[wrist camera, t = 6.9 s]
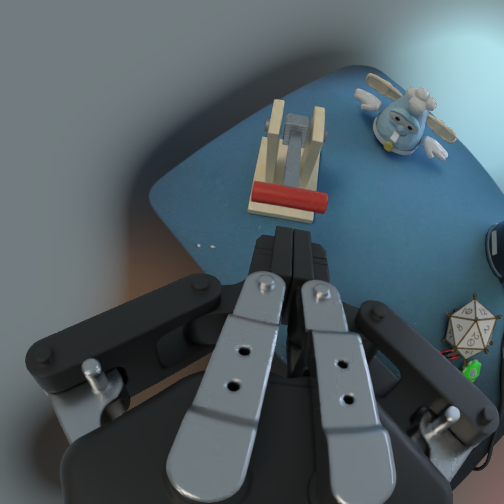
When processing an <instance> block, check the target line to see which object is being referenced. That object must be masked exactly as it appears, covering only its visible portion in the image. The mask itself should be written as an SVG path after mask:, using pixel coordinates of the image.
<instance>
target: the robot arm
mask: <svg viewBox="0 0 504 504" xmlns="http://www.w3.org/2000/svg"><path fill="white" fill-rule="evenodd" d="M486 254H487V258H488V262H489V264H490V267H491V269H492V270H493V272H494V273H495V275H496V276H497V277H499V279H500V282H501V283H504V221H503V222H501V223H499V224H496V225H494V226H492V227H491V228H490V229H489V231H488V233H487V237H486ZM327 265H328V264H327V257H326V251H325V250H324V249H323V248H322V246H321V245H320V244H315V243H311V234H310V231H304V230H298V229H294V230H293V228H287V227H281V226H276V231H275V237H274V236H268V235H262V236H261V237H259V238H258V239H257V241H256V245H255V249H254V253H253V257H252V261H251V265H250V270H249V274H248V276H247V278H246V279H245V280H244V281H242V282H240V283H237V284H234V285H221V283H220V281H219V280H218V279H217V278H215V277H213V276H211V275H208V274H192V275H189V276H187V277H184V278H182V279H180V280H178V281H175V282H173V283H171V284H168V285H166V286H164V287H161V288H159V289H157V290H154V291H152V292H150V293H147V294H145V295H143V296H140V297H138V298H136V299H133V300H131V301H129V302H126V303H124V304H122V305H119V306H117V307H115V308H113V309H110V310H108V311H106V312H103V313H101V314H99V315H96V316H94V317H92V318H89V319H87V320H85V321H82V322H80V323H78V324H76V325H73V326H71V327H69V328H67V329H64V330H62V331H59V332H58V333H55V334H53V335H50V336H48V337H46V338H43V339H41V340H39V341H37V342H36V343H34V344H33V345H32V346H31V347H30V348H29V350H28V352H27V354H26V359H25V362H26V367H27V369H28V370H29V372H30V373H31V375H32V376H33V377H34V379H35V380H36V381H37V383H38V384H39V385H40V387H41V388H42V389H43V390H44V391H45V393H46V394H47V395H48V396H49V398H50V401H51V403H52V406H53V408H54V410H55V413H56V415H57V418H58V420H59V422H60V424H61V427H62V429H63V431H64V433H65V435H66V437H67V439H68V441H69V443H70V446H69V447H68V448H67V450H66V452H65V454H64V455H63V458H62V461H61V466H60V479H61V485H62V491H63V499H64V504H453V494H452V489H451V486H450V484H449V482H450V481H451V480H452V478H453V477H454V476H455V474H456V473H457V471H458V470H459V468H460V467H461V465H462V464H463V463H464V461H465V459H466V458H467V456H468V455H469V453H470V452H471V450H472V449H473V448H474V447H476V446H477V445H478V444H479V443H480V442H481V441H483V440H484V439H486V438H487V437H488V436H490V435H491V434H492V433H493V436H492V439H491V443H490V446H489V451H488V456H487V459H486V462H485V463H484V464H483V465H482V466H480V467H475V468H474V469H473V471H480V470H482V469H484V468H485V467H486V466H487V464H488V463H489V461H490V458H491V455H492V450H493V445H494V442H495V439H496V436H497V433H498V430H499V426H500V423H501V419H502V415H503V410H504V357H503V356H504V354H503V351H502V353H501V403H500V410H499V413H498V410H497V408H496V407H495V405H494V404H493V403H492V402H491V401H490V400H489V399H488V398H487V397H486V396H485V395H484V394H483V393H482V392H481V391H480V390H479V389H478V388H477V387H476V386H475V385H474V384H473V383H472V382H471V381H470V380H469V379H468V378H467V377H466V376H465V375H463V374H462V373H461V372H460V371H459V370H458V369H457V368H456V367H455V366H454V365H453V364H452V363H451V362H450V361H449V360H448V359H446V358H445V357H444V356H443V355H442V354H441V353H440V352H439V351H438V350H437V349H436V348H434V347H433V346H432V345H431V344H430V343H429V342H428V341H427V340H426V339H425V338H423V337H422V336H421V335H420V334H419V333H418V332H417V331H416V330H414V329H413V328H412V327H411V326H410V325H409V324H408V323H407V322H405V321H404V320H403V319H402V318H401V317H400V316H398V315H397V314H396V313H395V312H394V311H393V310H392V309H390V308H389V307H388V306H387V305H385V304H383V303H381V302H378V301H366V302H364V303H362V305H361V306H360V309H359V308H356V307H354V306H351V305H348V304H346V303H344V302H342V301H341V297H340V294H339V291H338V290H337V289H336V288H335V287H334V286H333V285H331V284H330V277H329V270H328V266H327ZM281 316H282V321H281V324H284V325H288V330H287V333H288V336H287V340H286V350H287V378H285V377H282V376H279V375H277V374H274V373H271V372H270V368H271V363H272V358H273V354H274V349H275V344H276V339H277V334H278V329H279V324H280V320H281ZM503 343H504V336H503ZM503 348H504V346H503ZM378 349H379V350H380V351H381V352H382V353H383V354H384V355H385V356H386V357H387V358H388V359H389V360H390V361H391V362H392V363H393V364H395V365H396V366H397V367H398V369H399V370H400V373H401V378H400V379H399V378H397V377H396V376H395V375H394V374H393V373H392V372H391V371H390V370H389V369H388V368H387V367H386V366H385V365H384V364H383V363H382V362H381V361H380V360H379V359H378V358H377V357H376V356H375V354H376V352H377V351H378ZM213 350H214V351H213ZM212 351H213V354H212V356H211V359H210V361H209V364H208V367H207V369H206V370H205V371H200V372H197V373H194V374H191V375H188V376H186V377H184V378H182V379H180V380H179V381H177V382H176V383H174V384H172V385H171V386H169V387H168V388H166V389H164V390H163V391H161V392H159V393H158V394H156V395H155V396H153V397H151V398H149V399H148V400H146V401H144V402H143V403H141V404H139V405H138V406H136V407H134V408H132V409H131V410H129V411H127V409H128V408H129V405H130V397H132V396H134V395H136V394H138V393H140V392H142V391H143V390H145V389H147V388H149V387H151V386H153V385H155V384H156V383H158V382H160V381H162V380H164V379H165V378H167V377H169V376H171V375H173V374H174V373H176V372H178V371H180V370H181V369H183V368H185V367H186V366H188V365H190V364H192V363H193V362H195V361H197V360H199V359H200V358H202V357H204V356H205V355H207V354H209V353H210V352H212ZM126 411H127V412H126Z"/></svg>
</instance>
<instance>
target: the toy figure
mask: <svg viewBox="0 0 504 504" xmlns="http://www.w3.org/2000/svg"><path fill="white" fill-rule="evenodd" d="M366 83H367V84H368V85H370V86H371V87H372V88H374V89H375V90H377V91H378V92H379V93H380V94H381V95H383V96H387V97H389V98H391V99H393V100H395V101H394V102H393V103H391V104H390V105H388V106H387V107H386V108H384V109H383V110H381V111H380V112H379V114H380V115H379V114H378V115H379V117H378V115H377V117H378V119H377V117H376V118H375V120H374V123H373V131H374V134H375V135H376V137H377V139H378V140H379V141H380V142H381V143H382V144H383V145H384V149H385V150H387V151H389V152H391V151H393V152H395V153H397V154H400V155H410V154H412V153H413V152H414V151H415V150H416V149H417V147H418V146H419V145H420V143H421V140H422V135H423V132H424V128H425V123H426V124H427V125H428V126H429V127H430V128H431V129H432V131H433V132H434V133H435V134H437V135H438V136H440V137H441V138H442V139H443V140H445V141H446V142H448V143H450V144H452V143H454V142H455V141H456V139H457V135H456V134H455V133H454V132H453V131H452V130H451V129H450V128H449V127H448V126H447V125H446V124H445V123H444V122H443V121H441V120H439V119H437V118H435V117H434V116H432V115H430V114H428V111H433V110H434V109H435V108H436V105H437V103H436V101H435V99H433V98H432V97H430V96H429V93H428V91H427V90H425V89H424V88H419V89H415V88H413V87H410V88H409V89H408V90H407V91H406V94H404V95H402V94H401V93H400V92H399V91H398V90H397V89H396V88H394V87H393V86H392V85H391V83H389V82H388V81H386V80H384V79H382V78H380V77H378V76H377V75H375V74H372V73H370V74H368V75H367V77H366ZM354 97H355V98H356V99H357V100H359V101H360V102H361V103H362V105H361V108H362V109H363V110H368V111H375V112H377V111H378V110H379V109H380V108H381V106H382V102H381V101H380V100H379V99H378V98H377V97H375V96H374V95H372V94H370V93H368V92H366V91H364V90H362V89H359V88H358V89H356V90H355V94H354ZM376 119H377V122H376ZM417 144H418V146H417ZM421 145H422V146H423V148H424V150H425V152H426V154H427V156H428V157H429V158H430V159H432V158H433V157H434V156H435V157H436V158H438V159H439V160H441V161H445V158H447V157H448V153H447V152H446V150H445V149H444V148H443V147H442V146H441V145H440V144H439V143H438V142H437V141H435V140H434V139H432V138H430V137H429V136H426V137H425V138H424V139H423V141H422V144H421ZM416 146H417V147H416ZM415 147H416V149H414V148H415ZM413 149H414V150H413ZM411 150H412V151H411ZM409 151H410V152H409Z"/></svg>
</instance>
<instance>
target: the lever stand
mask: <svg viewBox="0 0 504 504" xmlns="http://www.w3.org/2000/svg"><path fill="white" fill-rule="evenodd" d="M284 102H285V101H283V100H276V99H275V100H274V104H273V109H272V114H271V119H266V122H265V130H264V131H265V132H267V133H268V137H262V141H261V146H260V151H259V156H258V161H257V165H256V170H255V175H254V180H253V183H254V181H261V182H267V183H273V184H279V185H283V180H284V172H285V165H286V158H287V150H288V145H283V144H282V142H283V140H281V139H280V134H281V126H282V118H283V110H284ZM324 121H325V108H322V107H317V106H315V109H314V113H313V117H312V121H311V124H310V128H309V132H308V136H307V140H306V145H305V148H301V163H300V182H299V188H302V189H307V190H313V191H316V189H317V179H318V168H319V156H320V150H321V147H322V144H323V142H324V143H325V141H326V137H327V129H324ZM252 188H253V185H252ZM251 194H252V190H251ZM248 213H251V214H257V215H263V216H269V217H275V218H281V219H287V220H292V221H298V222H304V223H309V224H311V223H312V221H313V217H314V212H309V211H304V210H298V209H293V208H287V207H281V206H275V205H270V204H263V203H257V202H252V201H251V195H250V201H249V206H248Z"/></svg>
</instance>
